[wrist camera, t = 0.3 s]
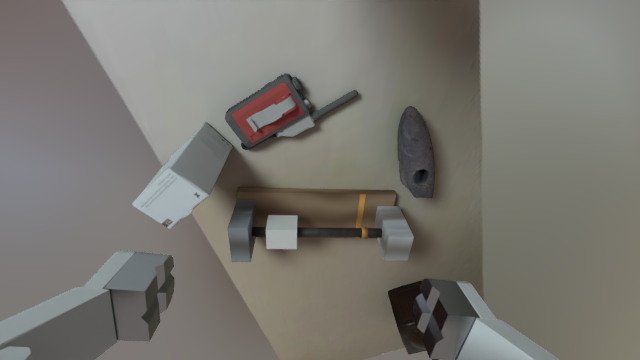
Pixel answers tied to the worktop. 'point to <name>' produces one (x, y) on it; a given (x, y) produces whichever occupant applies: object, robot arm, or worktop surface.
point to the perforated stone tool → (415, 154)
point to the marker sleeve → (281, 232)
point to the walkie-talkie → (276, 112)
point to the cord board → (321, 217)
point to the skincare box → (185, 177)
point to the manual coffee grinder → (407, 316)
